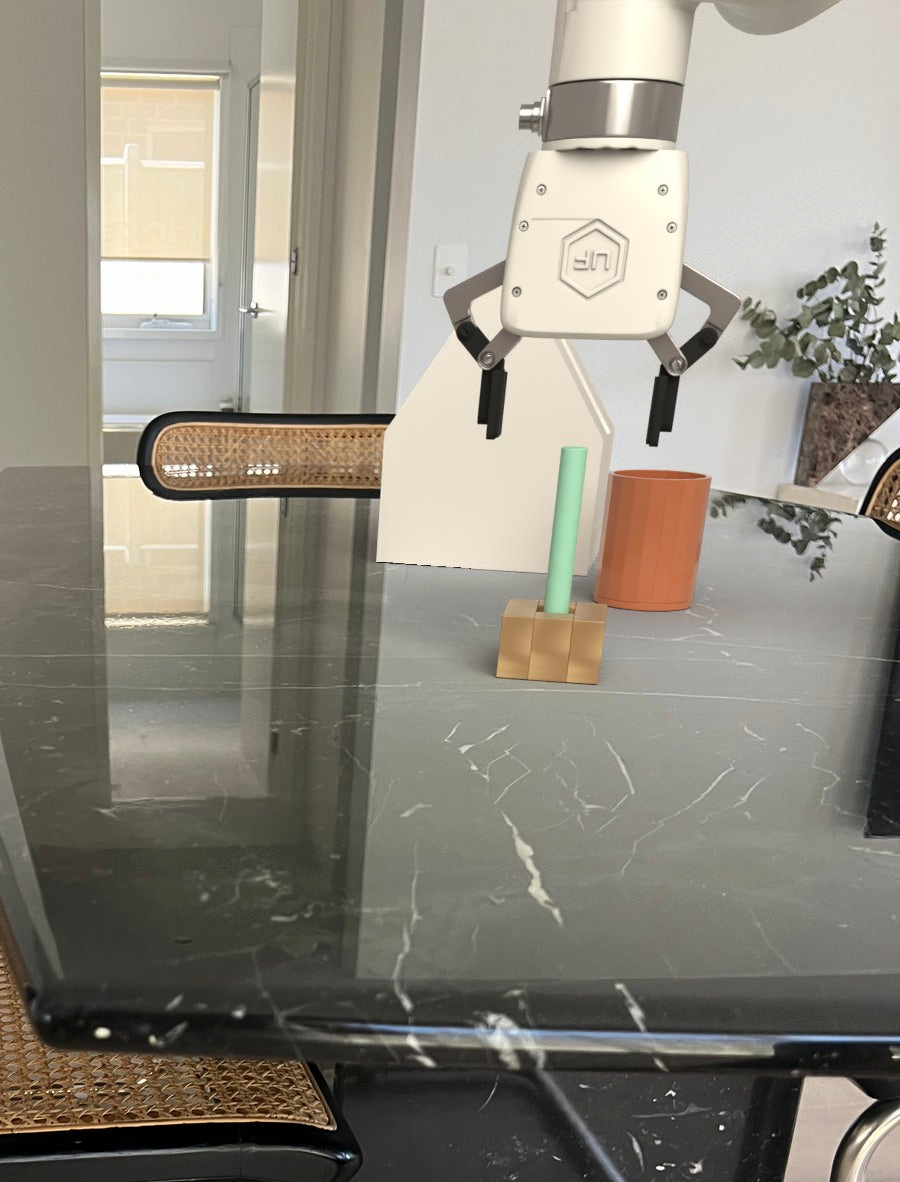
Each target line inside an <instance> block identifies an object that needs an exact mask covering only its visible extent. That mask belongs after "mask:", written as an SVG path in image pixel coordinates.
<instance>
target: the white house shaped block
mask: <svg viewBox="0 0 900 1182" xmlns="http://www.w3.org/2000/svg"><path fill="white" fill-rule="evenodd" d="M501 294H502V286H501V287H499V288H497V289H495V290H493V291H491V292H489V293H488V294H486V295H484V296H482V297H480V298H478V299H476V300H475V301H473V303H472V305H471V312H472V314H473V317H474V320H475V323H476V325H477V326H478V327H479V329H480V330H481V331H482V332H483V334H484V335H485V336H486V337H487V338H488V340H489V341H491V340H492V339H493V338H494V337H495V336H496V335H497V334H498V333H499V332H500V330H501V329H502V328H503V326H502V324H501V320H500V306H501ZM504 359H505V365H504V369H505V371H506V372H508V375H507V384H506V394H505V403H504V413H503V422H502V431H501V435H500V436H499V437H498V438H496V439H495V440H488V439H486V430H487V425H484V424H477V417H478V407H479V397H480V387H481V376H482V369H481V368H480V367H479V365H478V363H477V362H476V361H475V359H474V358H473V357H472V356H471V354H470V353H469V352H468V351H467V350H466V348H465V347H464V346H463V345H462V343H461V342H460V341H459V340H458V338H457V336H456V332H455V329H454V328H453V330H452V332H451V334H450V335H449V336H448V338H447V339H446V341H445V342H444V344H443V345H442V347H441V348H440V349H439V351H438V352H437V354H436V355H435V357H434V358H433V360H432V361H431V363H430V365H428V367H427V369H426V370H425V371H424V373H423V375H422V376H421V377H420V379H419V380H418V382H417V383H416V385H415V386H414V388H413V390H412V391H411V392H410V393H409V395H408V397H407V398H406V400H405V401H404V403H403V404H402V405H401V407H400V408H399V410H398V411H397V413H396V414H395V416H394V418H393V419H392V420H391V422H390V423H389V425H388V426H387V428H386V429H385V431H384V432H383V433H384V434H383V435H384V436H383V438H384V439H383V451H382V463H381V465H382V466H381V478H380V479H381V480H380V495H379V496H380V497H379V513H378V525H377V526H378V528H377V543H376V544H377V545H376V559H375V563H376V562H393V563H405V564H417V565H416V566H421V565H431V566H430V567H437V566H446V567H445V568H453V567H461V568H460V569H469V568H471V569H470V570H485V571H486V570H487V571H504V572H518V573H519V572H520V573H536V574H547V573H548V564H549V555H550V546H551V537H552V528H553V519H554V510H555V502H556V493H557V484H558V475H559V466H560V457H561V448H562V447H565V446H578V447H586V448H588V452H587V460H586V469H585V477H584V486H583V494H582V502H581V511H580V519H579V528H578V536H577V544H576V553H575V561H574V570H573V576H580V577H582V576H583V577H587V576H588V574H589V572H590V571H591V568H592V566H593V564H594V562H595V560H597V558H598V555H599V547H600V539H601V532H602V524H603V516H604V508H605V500H606V492H607V484H608V476H609V472H610V468H611V460H612V452H613V443H614V436H615V428H616V427H615V426H614V424H613V422H612V420H611V418H610V415H609V413H608V411H607V409H606V408H605V405H604V404H603V401H602V400H601V397H600V395H599V393H598V391H597V389H596V387H595V385H594V383H593V381H592V379H591V377H590V375H589V373H588V371H587V369H586V366H585V364H584V362H583V361H582V358H581V356H580V354H579V352H578V350H577V347H576V346H575V344H574V342H573V339H552V338H530V337H523V339H522V340H521V341H520V342H519V343H518V344H517V345H516V346H515V347H514V348H513V349H512V351H511V352H510V353H509V354H508V355H507V356H506V357H505V358H504ZM405 564H404V565H405Z"/></svg>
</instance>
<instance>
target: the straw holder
mask: <svg viewBox="0 0 900 1182" xmlns="http://www.w3.org/2000/svg"><path fill="white" fill-rule="evenodd" d="M544 600H545V599H530V598H514V597H513V598H512V597H510V598H509V600H508V602H507V604H506V607H505V609H504V611H503V613H502V614H501V615H502V616H501V624H500V635H499V643H498V653H497V654H498V655H497V664H496V674H495V677H496V678H500V679H512V680H513V679H514V680H515V679H516V680H527V681H541V682H555V683H568V684H569V683H571V684H585V685H598V684H599V679H600V672H601V671H600V670H601V663H602V655H603V654H602V653H603V648H604V639H605V630H606V623H607V614H608V606H607V604H599V603H597V602H581V601H580V602H579V601H577V602H576V601H570V603H569V612H568V614H564V613H548V612H543V609H544Z"/></svg>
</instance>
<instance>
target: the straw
mask: <svg viewBox="0 0 900 1182" xmlns="http://www.w3.org/2000/svg"><path fill="white" fill-rule="evenodd" d="M587 452H588V448H586V447H578V446H565V447H562V448H561V457H560V466H559V475H558V484H557V493H556V502H555V510H554V519H553V528H552V537H551V546H550V555H549V564H548V573H546V582H545V583H546V584H545V591H544V599H543V600H544V609H543V612H548V613H564V614H568V612H569V603H570V602H571V594H572V586H573V577H574V575H573V570H574V561H575V553H576V544H577V536H578V528H579V519H580V511H581V502H582V494H583V486H584V477H585V469H586V460H587Z"/></svg>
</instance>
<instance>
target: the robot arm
mask: <svg viewBox="0 0 900 1182" xmlns="http://www.w3.org/2000/svg"><path fill="white" fill-rule="evenodd" d="M556 1H557V2H556V11H555V22H554V32H553V42H552V50H551V58H550V67H549V76H548V86H547V87H548V88H546V94H545V96H541V98H540V101H534V102H533V104H531V103H525V104H523V103H522V104H520V109H519V116H518V131H530V132H531V134H537V136H538V137H539V138H541V142H542V143H541V150H533V151H528V153H527V155H526V158H525V161H524V165H523V168H522V172H521V175H520V180H519V184H518V188H517V192H516V196H515V201H514V206H513V212H512V216H511V217H512V218H511V225H510V231H509V237H508V243H507V250H506V257H505V259H504V260H502V261H500V262H498V263H496V264H494V265H492V266H491V267H488V268H487V269H485V270H482V271H481V272H479V273H477V274H475V275H473V276H471V277H469V278H468V279H466V280H464V281H461V282H460V283H457V284H456V285H454V286H452V287H450V288H448V289H446V291H445V292H444V294H443V296H442V301H443V303H444V306H445V309H446V311H447V314H448V317H449V319H450V322H451V324H452V326H453V330H454V329H455V332H456V336H457V338H458V340H459V341H460V342H461V343H462V345H463V346H464V347H465V348H466V350H467V351H468V352H469V353H470V354H471V356H472V357H473V358H474V359H475V361H476V362H477V363H478V365H479V367H480V368H481V369H482V376H481V387H480V397H479V407H478V417H477V424H484V425H487V430H486V439H488V440H495V439H496V438H498V437H499V436H500V435H501V431H502V422H503V413H504V403H505V394H506V384H507V375H508V372H506V371H505V369H504V365H505V359H504V358H505V357H506V356H507V355H508V354H509V353H510V352H511V351H512V349H513V348H514V347H515V346H516V345H517V344H518V343H519V342H520V341H521V340H522V339H523V337H530V338H552V339H571V340H586V341H587V340H591V341H598V340H599V341H646V342H647V344H649V346H650V347H651V349H652V351H653V352H654V354H655V355H656V357H657V358H658V360H659V361H660V364H659V370H658V376H657V375H656V376H654V382H653V388H652V395H651V401H650V409H649V415H648V422H647V429H646V436H645V445H648V447H650V448H658V447H659V442H660V434H661V433H672V431H673V426H674V421H675V420H674V419H675V413H676V407H677V406H676V405H677V400H678V394H679V387H680V382H681V381H680V380H681V376H682V375H683V374H684V373H685V372H687V370H688V369H689V368H691V367H692V366H693V365H694V364H695V363H697V362H698V361H699V360H700V359H701V358H702V357H703V356H705V355H706V354H707V353H709V351H710V350H711V349H713V348H714V347H715V346H716V345H717V342H718V341H719V340H720V338H721V337H722V335H723V334H724V332H725V331H726V330H727V328H728V326H729V325H730V324H731V322H732V320H733V319H734V317H735V316H736V314H737V313H738V312H739V310H740V309H741V306H742V301H743V300H742V298H741V296H739V295H738V294H737V293H736V292H734V291H732V290H731V289H729V288H727V287H726V286H724V285H722V284H721V283H719V282H717V281H716V280H714V279H712V278H711V277H710V276H708V275H706V274H704V273H703V272H702V271H700V270H698V269H696V268H695V267H693V266H692V265H690V264H688V263H687V262H685V261H684V258H685V249H686V239H687V238H686V237H687V229H688V216H689V203H690V202H689V200H690V162H689V152H688V151H684V150H678V149H677V150H676V148H677V142H678V133H679V126H680V118H681V113H682V112H681V111H682V105H683V97H684V90H685V86H686V77H687V70H688V64H689V56H690V51H691V44H692V43H691V42H692V35H693V28H694V21H695V16H696V15H695V14H696V10H697V8H698V7H699V6H700V4H702V3H703V4H705V3H706V4H713V5H714V7H715V10H716V11H717V13H718V14H719V15H720V16H721V17H722V19H723V20H724V21H725V22H726V23H728V24H729V25H730V26H731V27H733V28H734V29H736V30H737V31H740V32H741V33H746V34H748V35H754V36H772V35H773V36H774V35H778V34H782V33H785V32H788V31H791V30H795V29H796V28H798V27H800V26H802V25H804V24H806V23H808V22H810V21H811V20H813V19H814V18H817V17H818V16H819V15H821V14H823V13H824V12H826V11H827V10H829V9H830V8H832V7H834V6H835V5H837V4H838V3H840V2H841V1H842V0H556ZM501 286H502V294H501V306H500V320H501V324H502V326H503V328H502V329H501V330H500V332H499V333H498V334H497V335H496V336H495V337H494V338H493V339H492V340H491V341H489V340H488V338H487V337H486V336H485V335H484V334H483V332H482V331H481V330H480V329H479V327H478V326H477V325H476V323H475V320H474V317H473V314H472V312H471V305H472V303H473V301H475V300H476V299H478V298H480V297H482V296H484V295H486V294H488V293H489V292H491V291H493V290H495V289H497V288H499V287H501ZM681 290H682V291H684V292H686V293H687V294H689V295H690V296H692V297H693V298H696V299H697V300H699V301H700V302H702V303H704V304H705V305H706V306H708V308H709V315H708V316H707V318H706V319H705V320H704V321H705V322H704V323H703V324H702V326H701V327H700V329H699V330H698V331H697V332H696V333H694V335H692V336H691V337H690V338H689V339H688V340H687V341H686V342H685V343H684V344H682V345H681V346H680V347H679V346H678V344H677V342H676V341H675V340H674V338H673V336H672V335H671V333H670V332H669V330H670V329H672V327H673V325H674V323H675V318H676V315H677V311H678V306H679V305H678V304H679V301H680V300H679V299H680V293H681V292H680V291H681Z"/></svg>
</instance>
